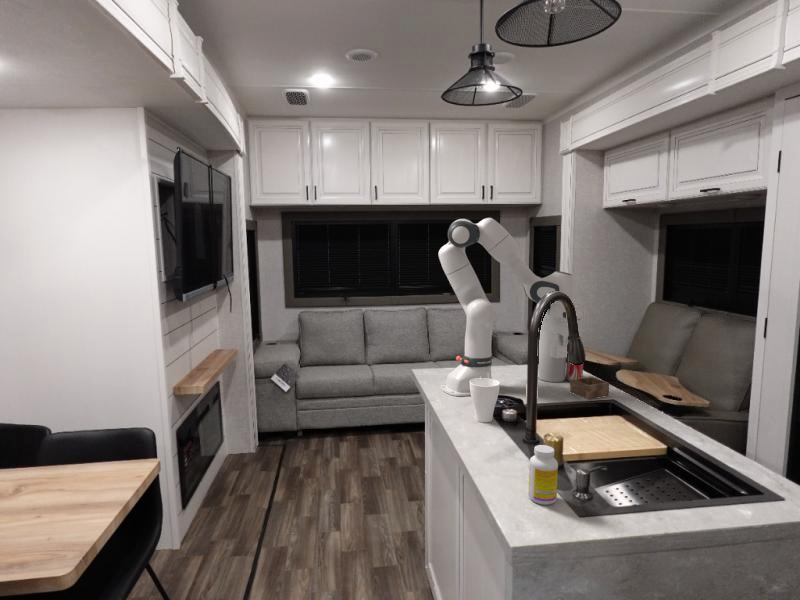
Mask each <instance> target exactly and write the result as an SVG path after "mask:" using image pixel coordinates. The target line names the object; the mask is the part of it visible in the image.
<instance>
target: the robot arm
mask: <svg viewBox="0 0 800 600" xmlns="http://www.w3.org/2000/svg"><path fill="white" fill-rule="evenodd" d="M473 222H474V221H472V220H470V219H468V218H459V219H456V220H454V221H453V222H452V223H451V224H450V225H449V228H448V229H447V238H448V242H447V243H446V244H444V245H443V246H441V247H440V249H438V250H439V251H438V259H439V262H440V264H441V268H442V270H443V272H444V275H445V276H446V277H447V280H448V281H449V285H450V286H451V287H452V290H453V292H454V293H455V295H456V298H457V299H458V301H459V303H460V306H461V307H462V309H463V311H464V313H465V315H466V322H465V323H466V324H465V335H464V354H463V356H460V355H457V356H456V358H455V360H456V361H458V362H460V364H458V366H456V368H454V369H453V370H452V371H451V372H450V373H448V375H447V378H446V382H445V384H441V385H440V390H441V391H442V392H444V393H446V394H448V395H451V396H453V397H467V396H469V397H471V392H470V380H472V379H476V378H489V379H493V377H492V365H493V356H492V339H493V338H492V336H493V330H494V321H495V307H494V306H493V304H492V303H491V302H490V301H489V299H488V297H487V295H486V293H485V291H484V289H483V287H482V285H481V282H480V280H479V278H478V275H477V274H476V272H475V270H474V268H473V266H472V264H471V262H470V260H469V259H468V256H467V254H466V248H467V247H469V246H472V245H474V244H476V243H478V244H480V245H481V246H482V247H483V248H484V249H485V250H486V251H487V252H488V254H489V255H490V256H491V257H493V259H494V260H495V261H497V262H498V263H500V265H503V266H505V268H508V269H509V270H510V271H511V272H512V274H513V275H514V276H515V277H516V278H517V279H518V281H519V282H520V283H521V285H522V287H523V291H524V293H525V296H526V297H527V298H528V299H530V300H531V301H533V302H535V303H537V302H538V301H539V300H540V299H541V298H542V297H543V296H544V295H545V294H547V293H549V292H552V291H560V292H563V293H565V294H566V295H567V296H569V298H570V299H571V301H572V303H573V305H574V306H575V304H574V296H575V295H576V294H575V292H576V291H575V289H576V282H575V281H576V280H575V277H574V275H573V274H572V273H569V272H566V271H559V270H556V271H554V272H552V273H551V274H549V275H547V276H545V277H541V276H538V275H536V274H535V273H534V272H533V271H532V270H531V269H530V268H529V266H528V265H527V264H526V263H525V262H524V260H523V258H522V257H521V255H520V248H519V245H518V244H517V241H515V239H514V238H513V236H512V235H511V234H510V233H509V232H508V230H507V229H506V228H505V227H504V226H502V225H501V224H500V223H499V222H498V221H497V220H496V219H493V218H492V217H486V218H483V219H482V220H480V221H479V222H477V223H473ZM547 309H548V310H547V312H546V314H545V316H544V318H543V321H542V320H541V322H542V325H541V329H542V330H543V331H547V332H556V333H560V335H562V336H564V341H563V342H562V345H561V346H562V347H567V343H568V326H567V318H566V312H565V309H564V307H563V305H562V304H561V303H560V302H559V301H555V302H554V303H552V304H551V303H550V308H547ZM575 311H576V316H577V323H578V331H579V336H580V338H579V339H581V338H582V336H583V328H584V327H583V320H582V319H583V317H584V314H583V313H582V312H581V311H579V310H577V308H575ZM550 335H551V334H550Z"/></svg>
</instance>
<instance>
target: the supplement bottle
mask: <svg viewBox="0 0 800 600" xmlns="http://www.w3.org/2000/svg"><path fill="white" fill-rule="evenodd" d="M533 453H534V455H533V456H531V457H530V458H529V469H528V470H529V474H528V497H529V499H530V500H531V501H532V502H534V503H536V504H539V505H544V506H546V505H547V506H548V505H552V504H555V503H556V501H557V496H558V475H559V474H558V472H559V471H558V470H559V463H558V461H557V459H556V458H555V449H554V447H552V446H550V445H546V444H538V445H535V446H534V449H533Z"/></svg>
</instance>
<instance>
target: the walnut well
mask: <svg viewBox="0 0 800 600" xmlns="http://www.w3.org/2000/svg"><path fill="white" fill-rule="evenodd" d="M569 382H570V383H569V384H570V385H569V393H570V392H571V394H573V393H574V394H573V395H575V394H576V396H578V395H579V396H578V397H580V396H581V398H583V397H584V398H583V399H585V398H586V399H587V400H593V398H594V399H599V398H598V397H600V398H604V397H603V396H606V397H609V396H610V395H609V393H610V382H608V381H605V380H602V379H599V378H596V377H593V376H586V377H582V378H577V379H571V380H570V381H569Z"/></svg>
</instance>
